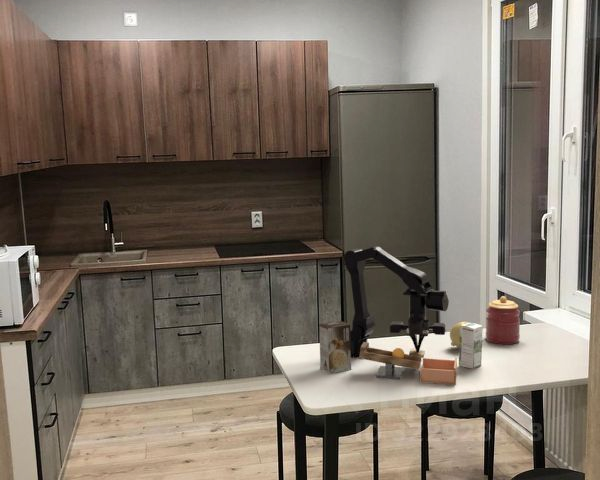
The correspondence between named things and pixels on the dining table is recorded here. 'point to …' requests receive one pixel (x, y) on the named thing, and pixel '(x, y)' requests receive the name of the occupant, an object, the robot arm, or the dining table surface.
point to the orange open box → (439, 371)
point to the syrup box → (470, 345)
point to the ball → (398, 353)
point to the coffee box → (335, 347)
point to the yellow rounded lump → (456, 334)
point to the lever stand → (390, 372)
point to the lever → (386, 356)
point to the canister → (502, 322)
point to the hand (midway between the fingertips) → (417, 351)
